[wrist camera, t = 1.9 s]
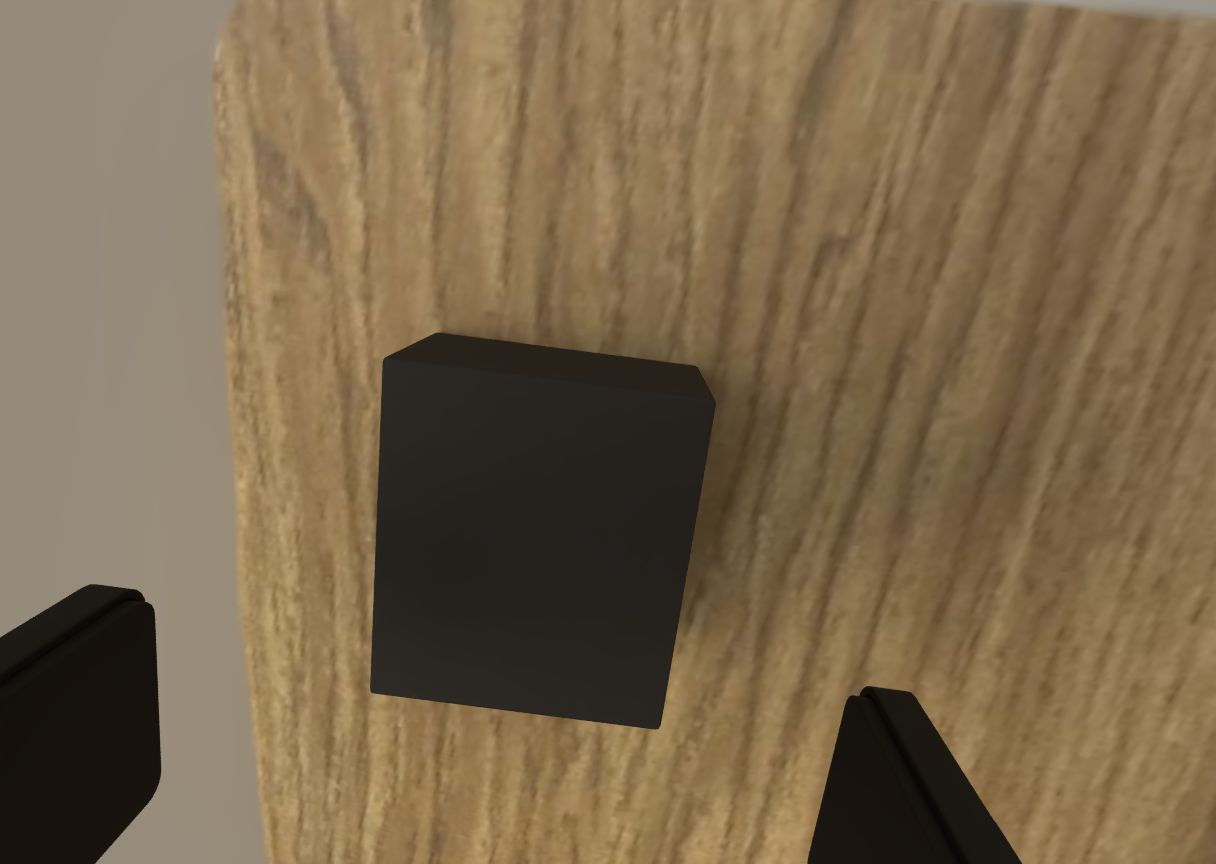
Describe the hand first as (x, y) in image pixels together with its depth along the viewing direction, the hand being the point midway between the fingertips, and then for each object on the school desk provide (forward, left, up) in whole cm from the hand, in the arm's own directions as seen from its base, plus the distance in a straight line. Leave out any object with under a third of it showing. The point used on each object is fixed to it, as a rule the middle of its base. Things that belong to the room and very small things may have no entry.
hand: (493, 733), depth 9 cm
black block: (0, 0, -8) cm, 8 cm away
